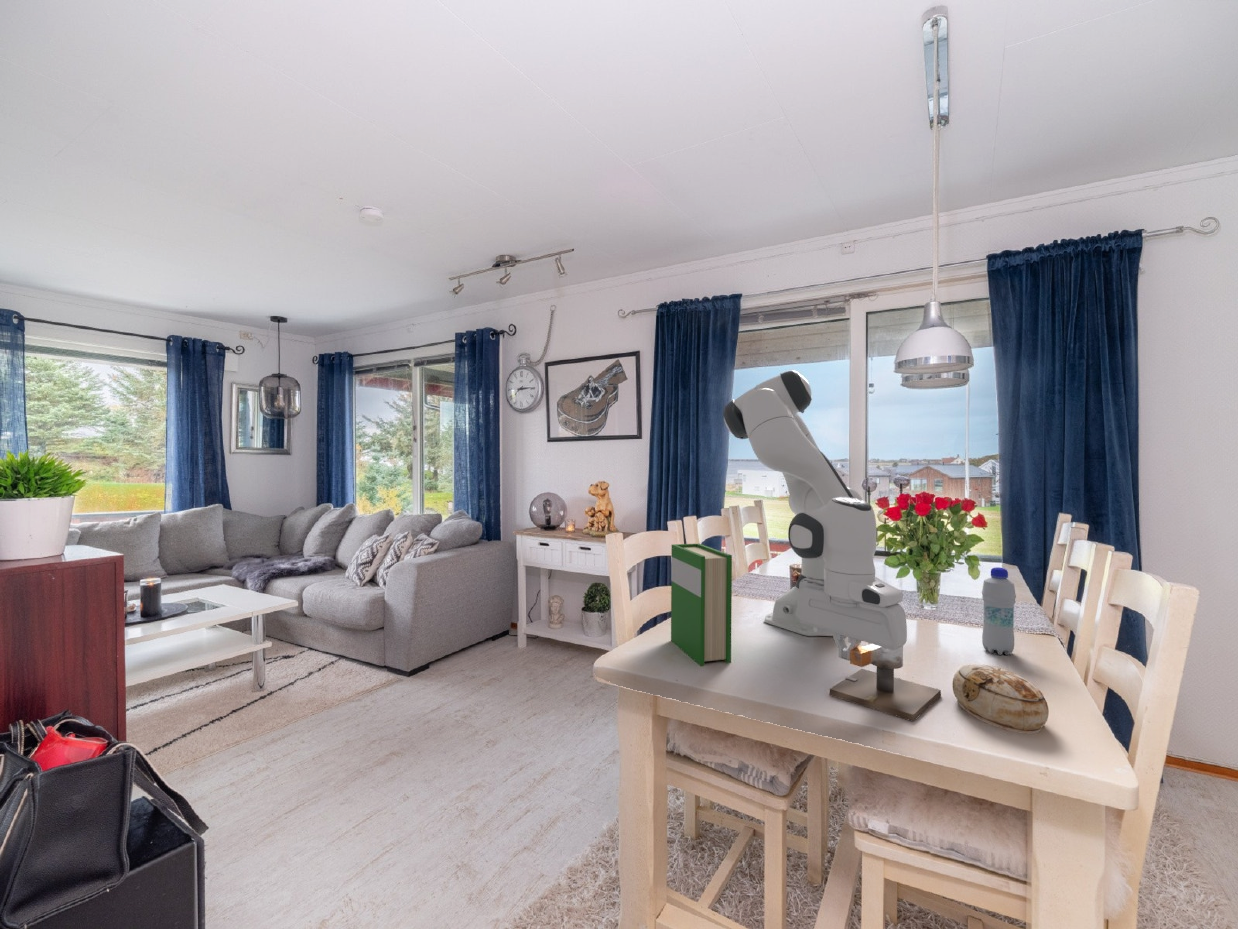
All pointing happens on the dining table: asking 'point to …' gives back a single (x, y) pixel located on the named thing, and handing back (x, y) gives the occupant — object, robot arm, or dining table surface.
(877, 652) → the lever handle
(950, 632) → the dining table surface
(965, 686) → the trinket box
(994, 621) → the bottle
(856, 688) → the base
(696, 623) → the hardback book
